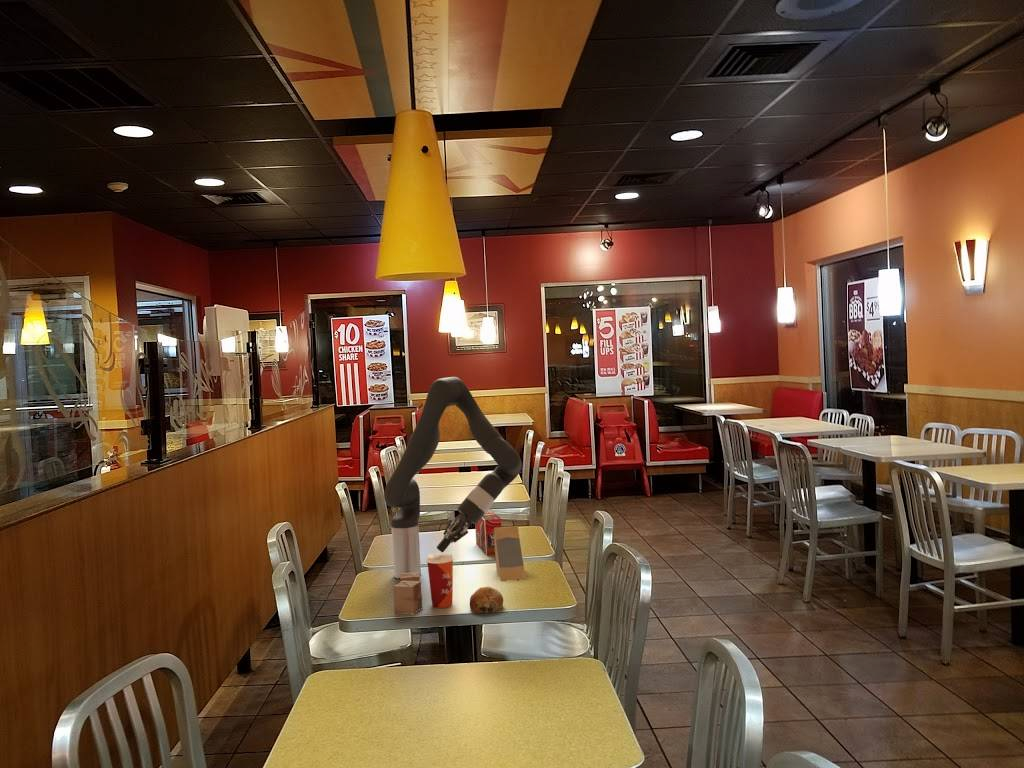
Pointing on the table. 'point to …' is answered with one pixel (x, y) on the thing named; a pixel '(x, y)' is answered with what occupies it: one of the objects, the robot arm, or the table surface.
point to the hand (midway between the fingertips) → (439, 550)
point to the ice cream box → (487, 532)
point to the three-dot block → (407, 597)
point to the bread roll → (486, 600)
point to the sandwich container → (508, 553)
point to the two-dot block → (410, 576)
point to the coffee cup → (441, 579)
